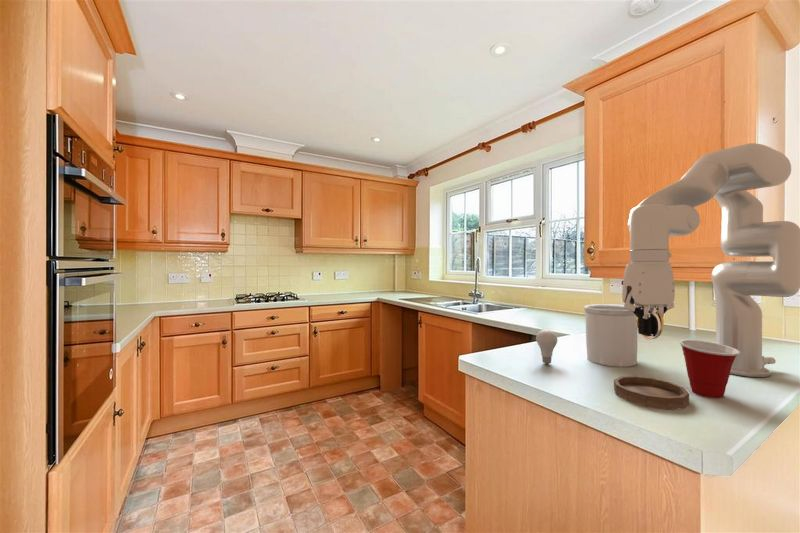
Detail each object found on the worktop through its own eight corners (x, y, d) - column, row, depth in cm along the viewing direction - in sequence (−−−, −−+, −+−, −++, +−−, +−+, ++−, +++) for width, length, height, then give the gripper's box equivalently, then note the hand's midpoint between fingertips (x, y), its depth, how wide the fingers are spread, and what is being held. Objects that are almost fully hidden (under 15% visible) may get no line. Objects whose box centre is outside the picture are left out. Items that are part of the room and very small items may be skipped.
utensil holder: (579, 361, 110) (579, 307, 109) (589, 352, 121) (589, 302, 121) (634, 371, 100) (634, 311, 100) (640, 359, 111) (640, 305, 111)
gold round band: (666, 343, 78) (667, 308, 78) (652, 342, 78) (652, 307, 78) (645, 336, 85) (646, 304, 85) (632, 336, 85) (633, 304, 85)
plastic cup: (729, 407, 75) (729, 353, 75) (671, 391, 84) (671, 343, 84) (747, 397, 80) (747, 346, 80) (690, 383, 90) (690, 337, 90)
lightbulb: (558, 363, 108) (558, 328, 108) (555, 368, 103) (555, 332, 103) (538, 360, 112) (538, 326, 111) (534, 365, 106) (534, 330, 106)
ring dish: (652, 384, 89) (652, 375, 89) (705, 407, 75) (704, 396, 75) (601, 387, 88) (601, 377, 88) (645, 410, 74) (645, 399, 74)
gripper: (665, 257, 85) (666, 330, 86) (606, 258, 84) (607, 332, 84) (694, 256, 78) (694, 337, 78) (629, 258, 77) (630, 339, 77)
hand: (649, 334), depth 81 cm, fingers closed on gold round band, 1 cm apart
